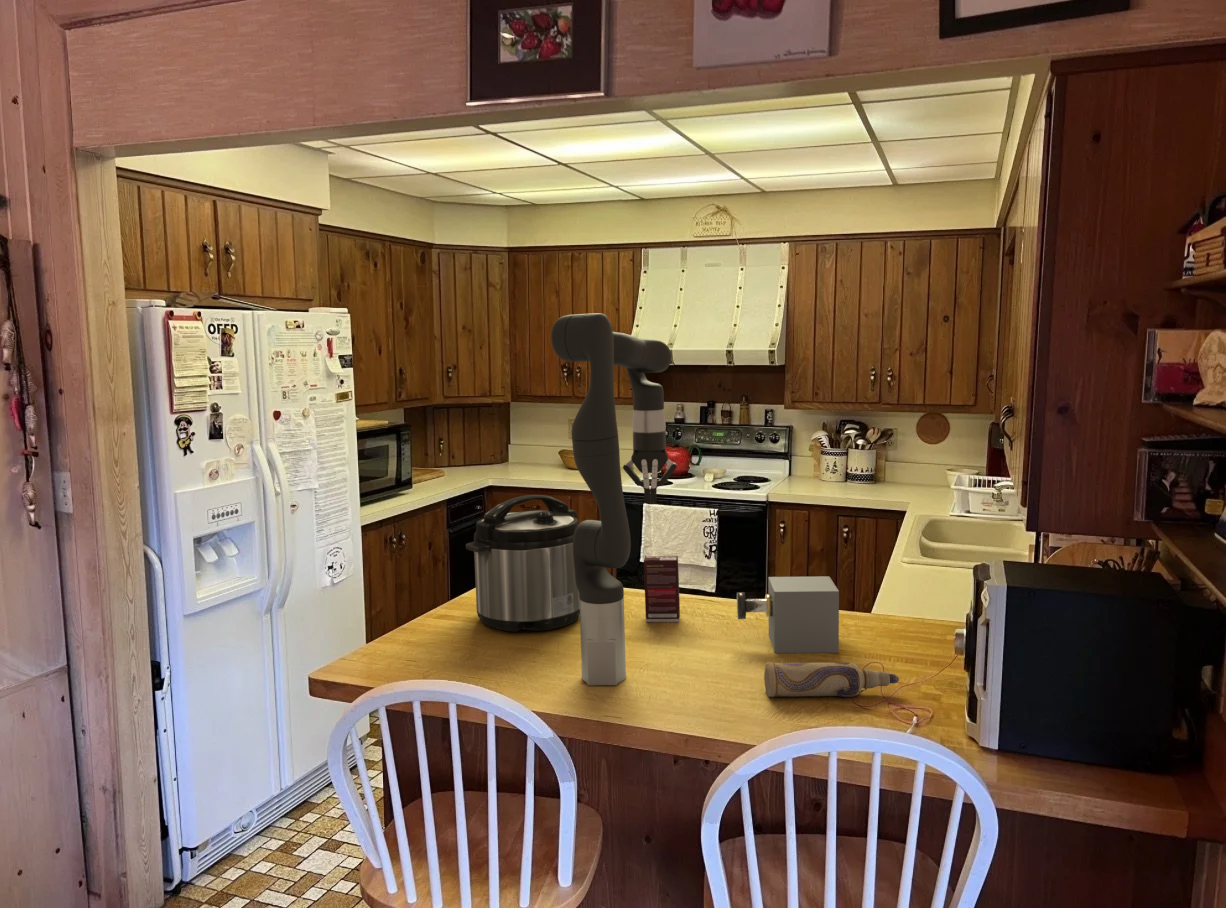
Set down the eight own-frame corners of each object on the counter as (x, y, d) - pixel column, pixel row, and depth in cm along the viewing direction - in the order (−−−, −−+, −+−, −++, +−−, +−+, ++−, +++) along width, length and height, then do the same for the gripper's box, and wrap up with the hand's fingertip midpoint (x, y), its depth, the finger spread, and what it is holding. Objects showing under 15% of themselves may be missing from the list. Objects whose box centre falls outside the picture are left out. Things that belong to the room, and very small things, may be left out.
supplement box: (680, 616, 225) (679, 555, 223) (679, 622, 220) (678, 560, 218) (646, 616, 226) (644, 555, 224) (644, 622, 221) (643, 560, 219)
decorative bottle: (768, 704, 171) (768, 670, 170) (763, 688, 179) (763, 656, 178) (904, 702, 170) (905, 668, 169) (893, 687, 178) (893, 654, 177)
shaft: (831, 622, 199) (831, 596, 198) (738, 622, 200) (738, 596, 200) (827, 613, 205) (827, 588, 204) (736, 614, 206) (736, 589, 206)
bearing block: (838, 652, 197) (838, 591, 195) (774, 652, 198) (774, 591, 196) (828, 634, 209) (829, 576, 207) (768, 634, 210) (768, 576, 208)
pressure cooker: (586, 598, 243) (582, 483, 238) (594, 632, 215) (589, 503, 211) (474, 604, 240) (469, 488, 236) (468, 640, 212) (461, 509, 208)
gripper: (619, 431, 201) (621, 507, 203) (678, 430, 200) (679, 506, 202) (621, 428, 208) (622, 501, 210) (677, 427, 207) (679, 500, 209)
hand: (650, 503), depth 206 cm, fingers closed
